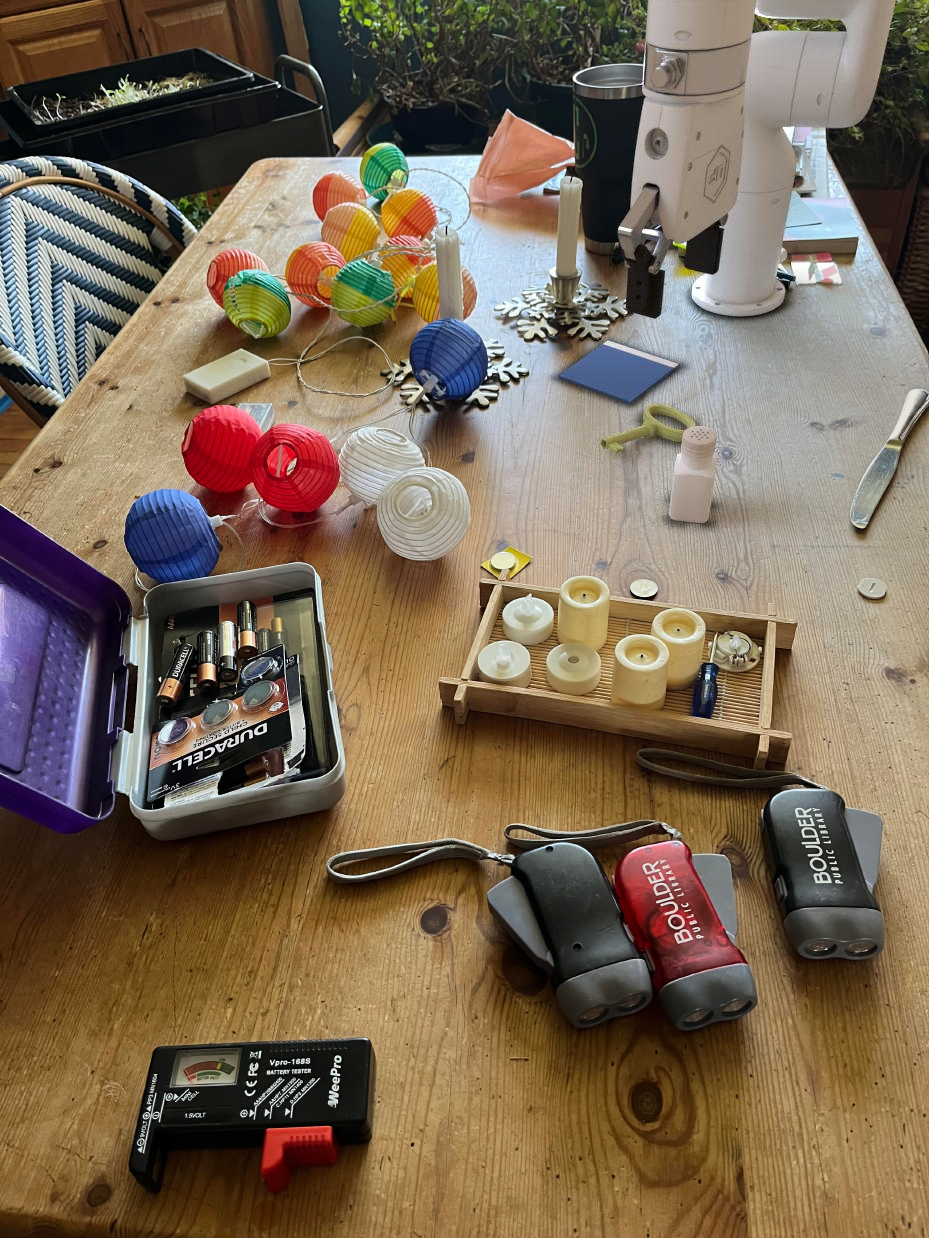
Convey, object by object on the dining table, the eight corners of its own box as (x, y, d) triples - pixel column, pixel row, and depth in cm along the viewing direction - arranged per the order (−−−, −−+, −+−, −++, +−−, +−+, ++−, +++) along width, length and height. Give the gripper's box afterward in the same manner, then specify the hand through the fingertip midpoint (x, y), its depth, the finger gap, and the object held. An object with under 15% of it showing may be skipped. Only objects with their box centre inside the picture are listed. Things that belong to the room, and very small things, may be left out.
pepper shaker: (671, 498, 92) (680, 421, 85) (710, 502, 91) (722, 424, 84) (667, 521, 89) (676, 444, 83) (707, 526, 88) (719, 448, 82)
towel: (608, 342, 116) (608, 339, 116) (679, 366, 110) (679, 363, 110) (558, 378, 111) (558, 375, 110) (630, 404, 105) (630, 401, 105)
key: (596, 456, 98) (596, 440, 97) (654, 407, 104) (656, 391, 103) (650, 478, 95) (652, 462, 93) (708, 426, 101) (710, 410, 99)
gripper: (679, 106, 58) (658, 343, 70) (795, 43, 67) (758, 264, 79) (586, 93, 62) (581, 321, 74) (707, 35, 70) (685, 247, 82)
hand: (672, 291), depth 76 cm, fingers open, 9 cm apart
